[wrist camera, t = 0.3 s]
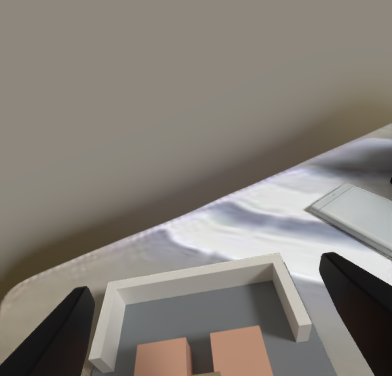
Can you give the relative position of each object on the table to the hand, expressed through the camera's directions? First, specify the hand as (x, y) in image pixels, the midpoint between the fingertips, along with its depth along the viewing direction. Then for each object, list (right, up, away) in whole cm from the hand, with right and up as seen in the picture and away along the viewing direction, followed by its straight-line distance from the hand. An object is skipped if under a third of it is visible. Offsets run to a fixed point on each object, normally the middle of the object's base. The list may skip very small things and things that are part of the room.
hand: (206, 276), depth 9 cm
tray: (0, -10, +14) cm, 17 cm away
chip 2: (+3, -12, +10) cm, 16 cm away
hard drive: (+22, -1, +21) cm, 31 cm away
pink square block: (-3, -13, +10) cm, 16 cm away
